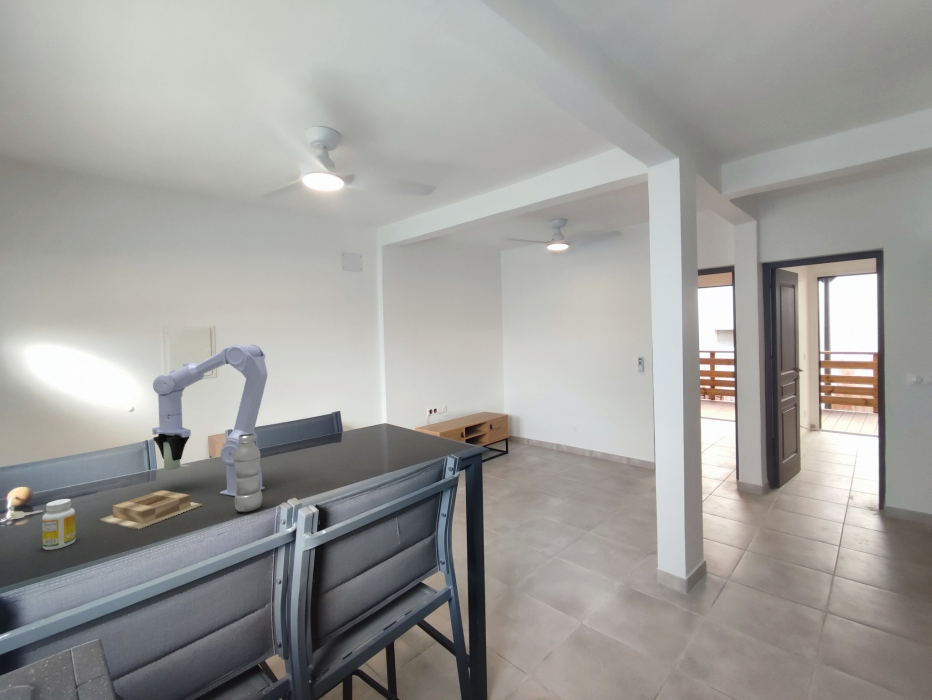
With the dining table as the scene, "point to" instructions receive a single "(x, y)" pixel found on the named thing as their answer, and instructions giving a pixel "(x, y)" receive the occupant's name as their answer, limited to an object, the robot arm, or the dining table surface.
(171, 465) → the dowel
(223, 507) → the dining table surface
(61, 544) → the supplement bottle
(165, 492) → the socket block
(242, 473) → the plastic bottle
